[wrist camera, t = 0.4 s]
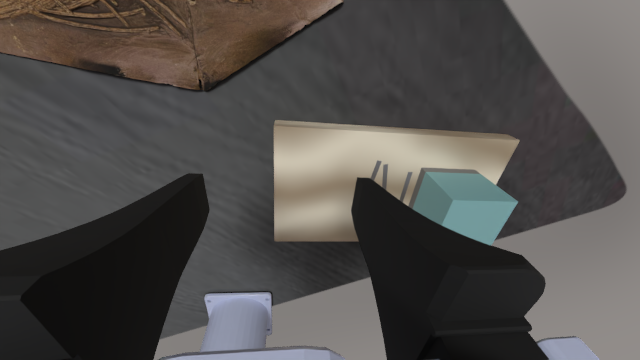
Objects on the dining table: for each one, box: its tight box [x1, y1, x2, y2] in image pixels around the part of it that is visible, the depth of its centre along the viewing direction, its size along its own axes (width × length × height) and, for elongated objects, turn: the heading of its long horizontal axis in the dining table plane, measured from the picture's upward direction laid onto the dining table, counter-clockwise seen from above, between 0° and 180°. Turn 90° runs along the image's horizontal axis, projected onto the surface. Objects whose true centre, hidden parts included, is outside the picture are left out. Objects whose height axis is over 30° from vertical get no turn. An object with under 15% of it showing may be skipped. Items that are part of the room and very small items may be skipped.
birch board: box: [274, 120, 520, 241], centre depth 23 cm, size 12×21×2 cm, turn 85°
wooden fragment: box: [0, 0, 343, 91], centre depth 15 cm, size 26×11×1 cm, turn 92°
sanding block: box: [408, 168, 518, 245], centre depth 22 cm, size 8×5×5 cm, turn 175°
